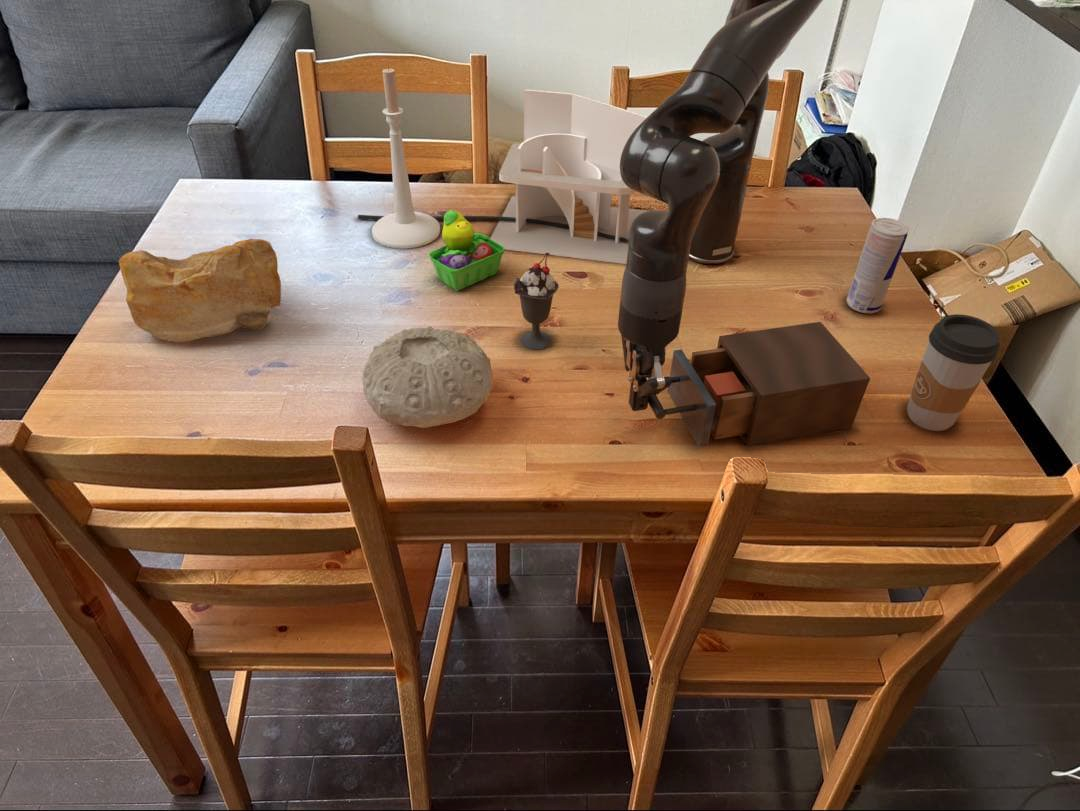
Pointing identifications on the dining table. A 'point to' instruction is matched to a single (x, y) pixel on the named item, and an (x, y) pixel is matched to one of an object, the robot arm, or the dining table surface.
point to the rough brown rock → (202, 290)
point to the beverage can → (877, 264)
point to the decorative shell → (427, 377)
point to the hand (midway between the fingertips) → (637, 407)
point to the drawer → (706, 396)
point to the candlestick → (401, 187)
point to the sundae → (536, 303)
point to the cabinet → (797, 381)
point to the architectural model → (569, 178)
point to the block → (722, 387)
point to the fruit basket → (464, 253)
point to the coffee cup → (951, 370)
